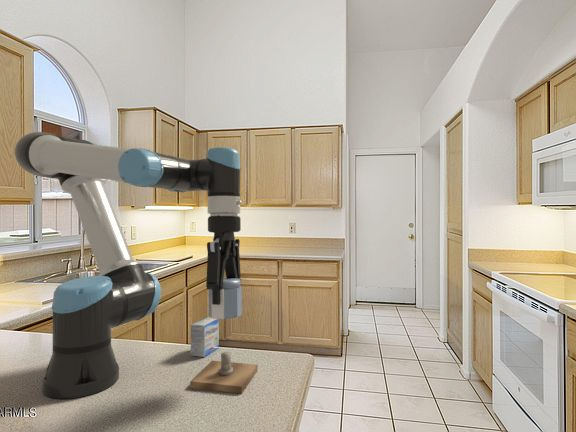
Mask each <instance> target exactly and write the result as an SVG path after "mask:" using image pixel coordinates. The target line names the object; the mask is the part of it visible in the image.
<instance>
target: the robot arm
mask: <svg viewBox="0 0 576 432" xmlns="http://www.w3.org/2000/svg"><path fill="white" fill-rule="evenodd" d="M206 153H207V154H206V158H200V159H186V158H180V157H178V156H174V155H169V154H168V155H167V154H164V153H160V152H155V151H152V150H150V149H146V148H145V149H144V148H138V147H132V148H125V147H117V146H110V145H109V146H108V145H101V144H97V143H95V142H91V141H90V140H85V139H77V138H71V137H68V136H63V135H60V134H55V133H52V132H47V131H46V132H45V131H35V132H30V133H29V132H28V134H24V135H23V136H22V137H21V138H19V140H18V141H17V143H16V145H15V148H14V156H15V157H14V158H15V160H16V162H17V163H18V165H19V166H20V167H21V168H22V169H23V170H24V171H25V172H27V173H29V174H32V175H34V176H38V177H41V178H42V177H43V178H50V179H56V180H58V182H59V184H60V187H61V190H62V191H63V192H65V193H66V194H70V195H71V196H70V197H71V199H72V202H73V204H74V206H75V209H76V212H77V214H78V217H79V221H80V222H81V224H82V225H81V226H82V228H83V230H84V233H85V236H86V239H87V241H88V245H89V246H90V250H91V252H92V255H93V258H94V260H95V262H96V265H97V267H98V270H99V274H98V275H92V276H91V275H90V276H86V277H83V276H82V277H78V278H74V279H71V280H68V281H64V282H63V283H61V284H59V285H58V286H57V287H56V288H55V290H54V291H53V298H52V304H51V310H52V352H51V356H50V359H49V363H48V365H47V368H46V372H45V375H44V377H43V379H42V393H43V395H44V396H46V397H48V398H52V399H60V400H61V399H64V400H65V399H67V400H68V399H75V398H81V397H87V396H90V395H93V394H97V393H99V392H102V391H104V390H106V389H108V388H110V387H112V386H113V385H114V384H116V383H117V381H118V380H119V378H120V366H119V363H118V362H117V359H116V356H115V353H114V350H113V347H112V329H113V328H117V327H119V326H123V325H125V324H128V323H130V322H133V321H140V320H141V319H143V318H145V317H147V316H149V315H151V314H152V313H154V312H155V311H156V310H157V308H158V307H159V303H160V301H161V299H162V298H161V297H162V287H161V283H160V282H159V280H158V278H157V277H156V275H153V274H152V273H150V272H146V271H145V269H144V267H143V264H142V263H141V262H139V261H136V260H134V258H133V255H132V253H131V250H130V247H129V244H128V242H127V240H126V238H125V235H124V232H123V230H122V227H121V225H120V222H119V219H118V217H117V214H116V212H115V210H114V207H113V205H112V203H111V200H110V197H109V195H108V192H107V190H106V188H105V184H106V182H107V181H110V182H117V183H123V184H128V185H131V186H135V187H140V188H152V189H153V188H154V189H163V190H168V191H169V192H175V193H185V192H198V191H200V192H201V191H207V214H208V215H209V216H208V218H207V232H209V233H213V239H212V240H213V241H211V242H210V241H209V242H208V241H207V243H206V248H207V249H206V251H207V261H206V263H207V264H206V282H205V283H206V286H205V287H206V290H209V289H212V319H219V320H225V319H224V289H222V286H223V278H236V279H240V283H241V281H242V278H241V262H240V261H241V259H240V258H241V257H240V242H241V241H240V239H239V238H236V237H235V233H240V231H241V217H240V216H239V214H241V205H242V204H243V201H242V200H241V169H242V168H241V161H240V160H241V159H240V158H241V157H240V153H239V151H238V150H237V149H235V148H232V147H225V146H224V147H222V146H221V147H220V146H218V147H210V148H209V149H208V150H207V152H206Z"/></svg>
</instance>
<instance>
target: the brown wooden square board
mask: <svg viewBox="0 0 576 432" xmlns="http://www.w3.org/2000/svg"><path fill="white" fill-rule="evenodd" d="M231 355H232V354H231V352H229V351H225V352H224V351H223V352H221V353H220V361H219V360H211V361H210V362H209V363H207V365H206V366H205V367H203V368H202V370H200V371H199V372H198V373H197V374H196V375H195V376H193V378H192V379H191V380H190V383H189V385H190V387H189V388H190V389H198V390H205V391H216V392H225V393H232V394H233V393H235V394H243V393H244V391H245V390H246V388H247V387H248V385H249V384H250V382H251V381H252V380H253V378H254V377H255V375H256V373H258V370H259V368H258V367H259V366H258V365H259V364H254V363H246V362H245V363H243V362H235V361H234V362H232V361H231V357H232V356H231Z"/></svg>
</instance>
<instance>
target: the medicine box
mask: <svg viewBox="0 0 576 432" xmlns="http://www.w3.org/2000/svg"><path fill="white" fill-rule="evenodd" d="M219 327H220V319H212V318H211V317H205V318H203V319H201V320H198V321H197V322H195V323H193V324H191V325H190V356H193V357H197V358H198V357H199V358H206V357H208V356H209V355H211V354H212V353H213V352H215V351H217V349H219V345H220V344H219V343H220V342H219V341H220V340H219V339H220V336H219V331H220V329H219ZM214 347H218V348H214Z"/></svg>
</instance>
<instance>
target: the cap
mask: <svg viewBox="0 0 576 432" xmlns="http://www.w3.org/2000/svg"><path fill="white" fill-rule="evenodd" d="M240 279H241V278H238V279H236V278H226V277H224V278H223V286H222V289H224V319H223V320H229V319H235V318H236V319H237V318H239V317H240V316H241V315H242V314H243V301H242V300H243V294H242V293H243V289H242V285H241V282H240ZM208 317H209V318H212V289H208Z"/></svg>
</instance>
